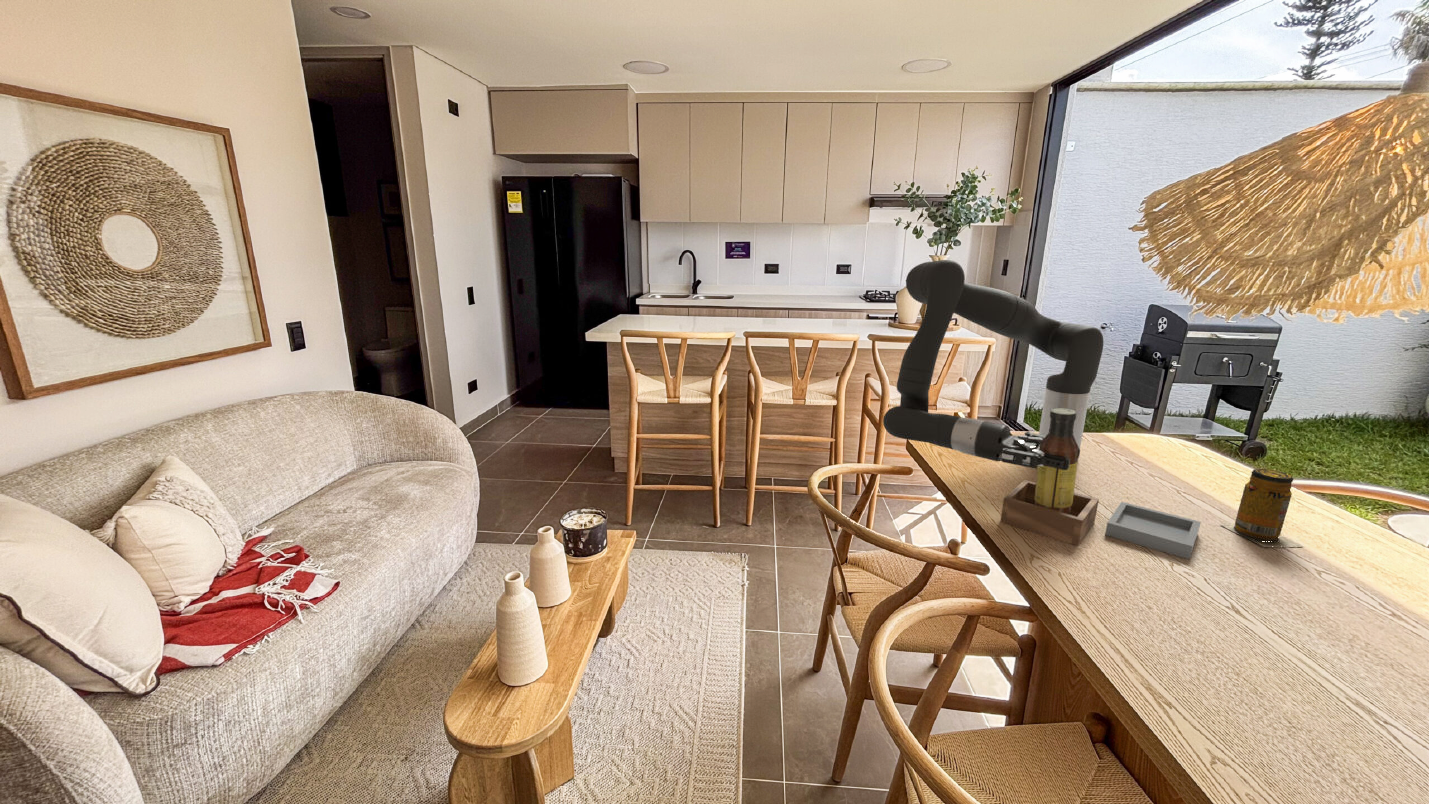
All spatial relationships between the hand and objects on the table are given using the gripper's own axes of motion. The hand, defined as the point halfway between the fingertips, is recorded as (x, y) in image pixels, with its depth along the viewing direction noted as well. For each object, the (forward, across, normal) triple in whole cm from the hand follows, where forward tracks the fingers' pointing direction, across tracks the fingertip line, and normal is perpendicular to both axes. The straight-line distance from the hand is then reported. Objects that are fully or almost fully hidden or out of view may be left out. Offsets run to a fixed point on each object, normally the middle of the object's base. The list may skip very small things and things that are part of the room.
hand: (1073, 459), depth 101 cm
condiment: (+27, +20, +14) cm, 36 cm away
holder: (-2, 0, +14) cm, 14 cm away
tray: (+13, +8, +14) cm, 20 cm away
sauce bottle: (-2, 0, +11) cm, 12 cm away
